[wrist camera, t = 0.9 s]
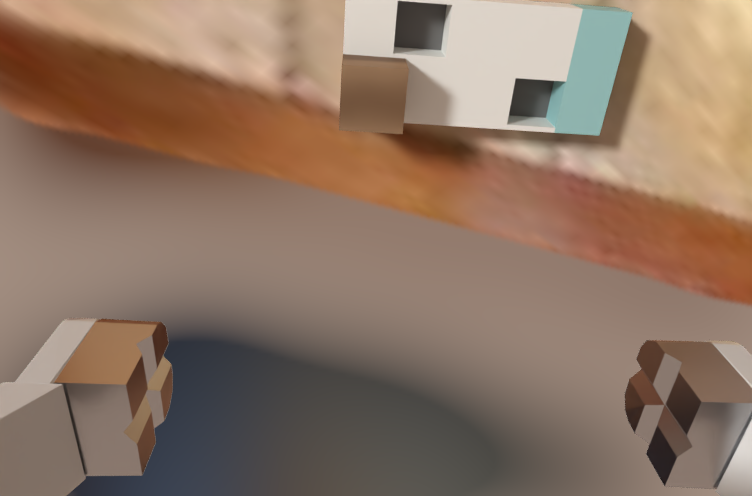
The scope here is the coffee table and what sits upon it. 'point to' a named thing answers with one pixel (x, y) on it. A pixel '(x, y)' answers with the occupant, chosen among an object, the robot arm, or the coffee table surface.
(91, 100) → the coffee table surface
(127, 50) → the coffee table surface
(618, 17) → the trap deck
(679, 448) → the robot arm
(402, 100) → the block
